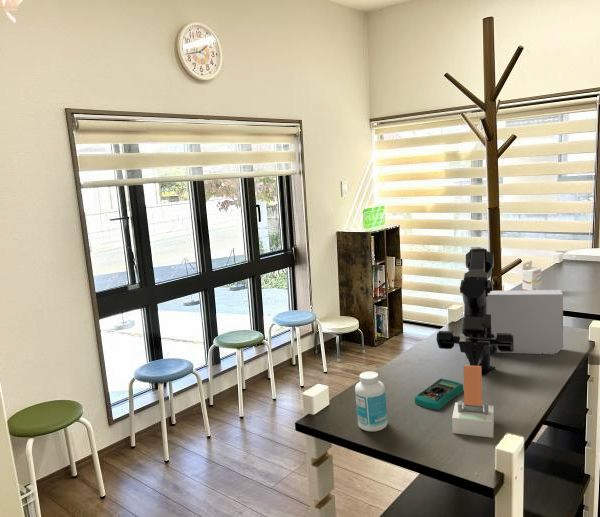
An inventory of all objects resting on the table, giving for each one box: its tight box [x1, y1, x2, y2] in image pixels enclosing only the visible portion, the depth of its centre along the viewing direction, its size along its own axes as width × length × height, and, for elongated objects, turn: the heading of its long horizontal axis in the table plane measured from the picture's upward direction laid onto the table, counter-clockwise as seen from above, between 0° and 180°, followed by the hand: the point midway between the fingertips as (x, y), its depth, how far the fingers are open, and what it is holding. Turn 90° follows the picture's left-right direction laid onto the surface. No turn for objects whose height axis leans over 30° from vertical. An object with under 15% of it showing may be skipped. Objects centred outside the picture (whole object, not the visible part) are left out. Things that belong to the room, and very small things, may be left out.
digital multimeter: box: [414, 377, 464, 411], centre depth 138 cm, size 7×15×3 cm, turn 135°
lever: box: [463, 364, 483, 412], centre depth 121 cm, size 2×4×11 cm, turn 68°
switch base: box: [451, 400, 495, 439], centre depth 121 cm, size 8×9×6 cm
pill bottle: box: [354, 370, 389, 432], centre depth 126 cm, size 8×7×14 cm
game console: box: [486, 289, 564, 355], centre depth 165 cm, size 6×27×20 cm, turn 71°
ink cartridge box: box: [521, 260, 542, 291], centre depth 228 cm, size 9×5×15 cm, turn 130°
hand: (473, 372), depth 127 cm, fingers closed
